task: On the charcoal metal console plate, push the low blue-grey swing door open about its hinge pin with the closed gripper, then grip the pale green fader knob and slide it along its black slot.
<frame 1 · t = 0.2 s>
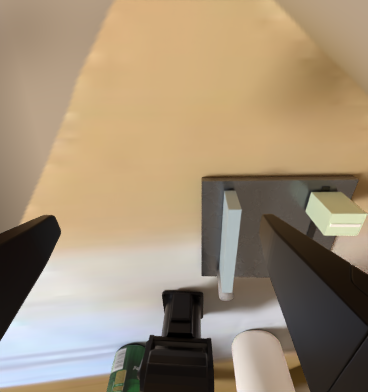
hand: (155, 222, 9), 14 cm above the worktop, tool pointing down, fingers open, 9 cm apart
fader knob: (333, 212, 21), point 3 cm above the worktop, slide at 0.0 cm
console: (265, 230, 27), on the worktop
door: (227, 250, 25), point 3 cm above the worktop, hinge at 0.0°
coffee jar: (140, 352, 45), on the worktop
alcohol: (254, 340, 40), on the worktop
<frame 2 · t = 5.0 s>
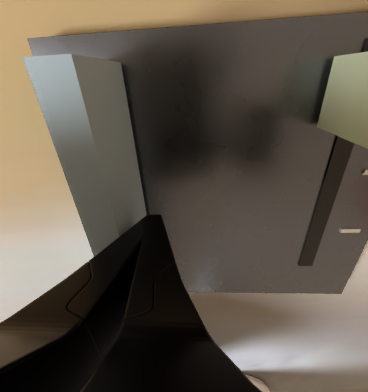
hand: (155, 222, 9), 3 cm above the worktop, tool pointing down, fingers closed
console: (225, 192, 12), on the worktop
door: (125, 234, 10), point 3 cm above the worktop, hinge at 0.0°, touching gripper
alcohol: (232, 386, 25), on the worktop
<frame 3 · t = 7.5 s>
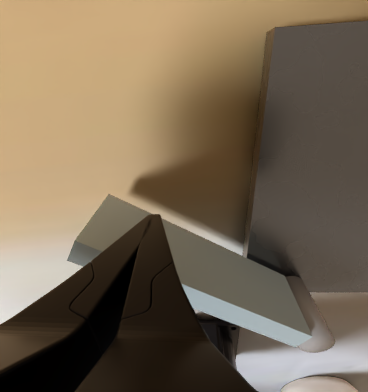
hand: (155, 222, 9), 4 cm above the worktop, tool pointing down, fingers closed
door: (216, 275, 11), point 3 cm above the worktop, hinge at 58.0°, touching gripper
alcohol: (314, 389, 25), on the worktop
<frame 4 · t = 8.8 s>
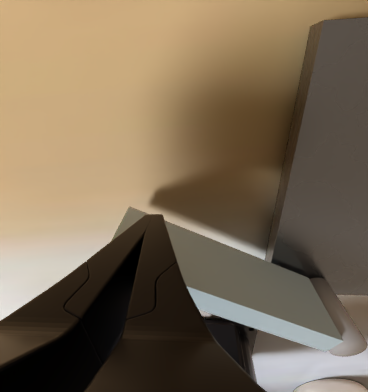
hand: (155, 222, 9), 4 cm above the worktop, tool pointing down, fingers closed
door: (239, 281, 11), point 3 cm above the worktop, hinge at 62.8°, touching gripper
alcohol: (326, 391, 25), on the worktop
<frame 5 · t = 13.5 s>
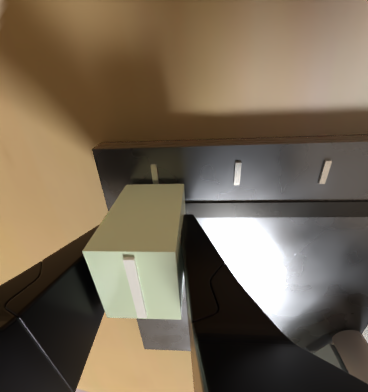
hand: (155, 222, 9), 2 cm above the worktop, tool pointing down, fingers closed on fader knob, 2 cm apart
fader knob: (149, 243, 8), point 3 cm above the worktop, slide at 0.0 cm, touching gripper
console: (250, 268, 13), on the worktop
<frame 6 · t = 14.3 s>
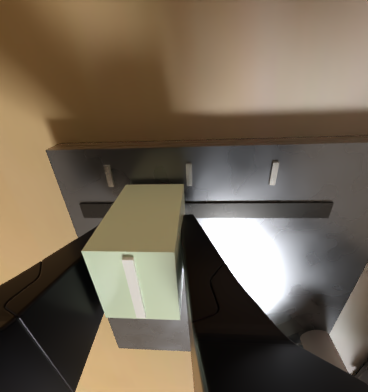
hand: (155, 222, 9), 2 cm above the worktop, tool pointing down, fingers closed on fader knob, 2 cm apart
fader knob: (149, 244, 8), point 3 cm above the worktop, slide at 2.0 cm, touching gripper
console: (217, 268, 13), on the worktop
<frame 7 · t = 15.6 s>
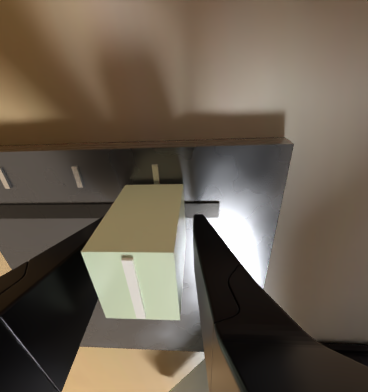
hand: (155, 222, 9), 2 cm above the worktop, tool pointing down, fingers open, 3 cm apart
fader knob: (148, 244, 8), point 3 cm above the worktop, slide at 6.9 cm
console: (139, 267, 13), on the worktop
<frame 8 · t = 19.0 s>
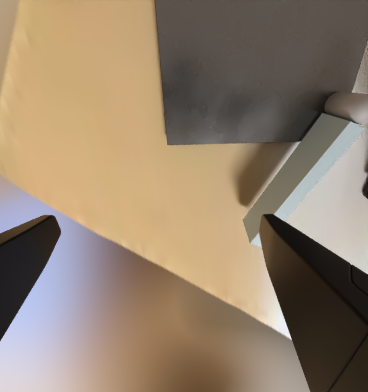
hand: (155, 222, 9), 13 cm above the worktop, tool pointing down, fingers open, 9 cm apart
console: (258, 34, 16), on the worktop
door: (296, 175, 18), point 3 cm above the worktop, hinge at 63.1°
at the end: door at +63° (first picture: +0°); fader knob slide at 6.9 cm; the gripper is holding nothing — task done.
